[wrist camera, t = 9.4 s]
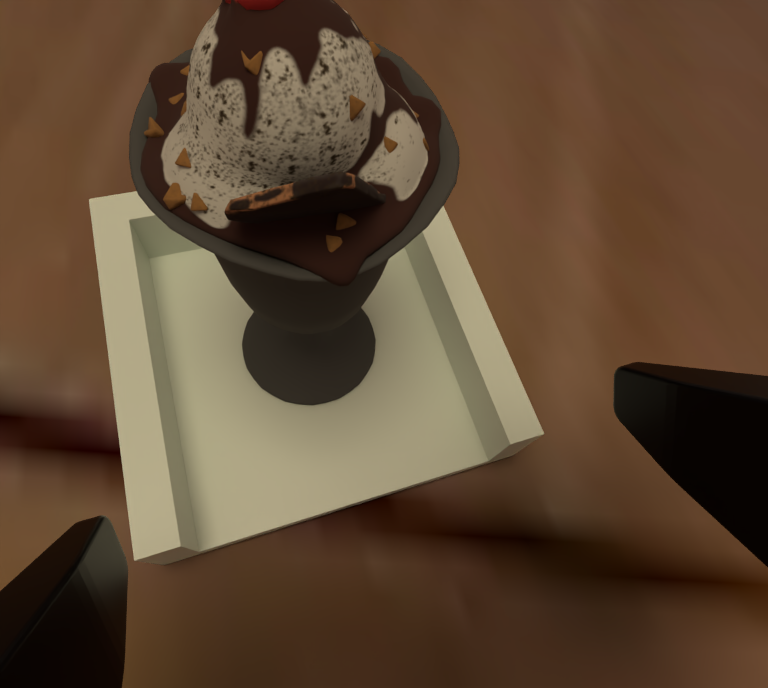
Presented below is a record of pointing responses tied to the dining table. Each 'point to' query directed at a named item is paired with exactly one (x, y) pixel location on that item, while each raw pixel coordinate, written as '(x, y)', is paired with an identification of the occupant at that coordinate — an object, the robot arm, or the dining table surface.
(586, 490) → the dining table surface
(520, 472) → the dining table surface
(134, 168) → the sundae
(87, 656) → the robot arm
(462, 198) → the dining table surface
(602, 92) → the dining table surface
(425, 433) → the end cap
